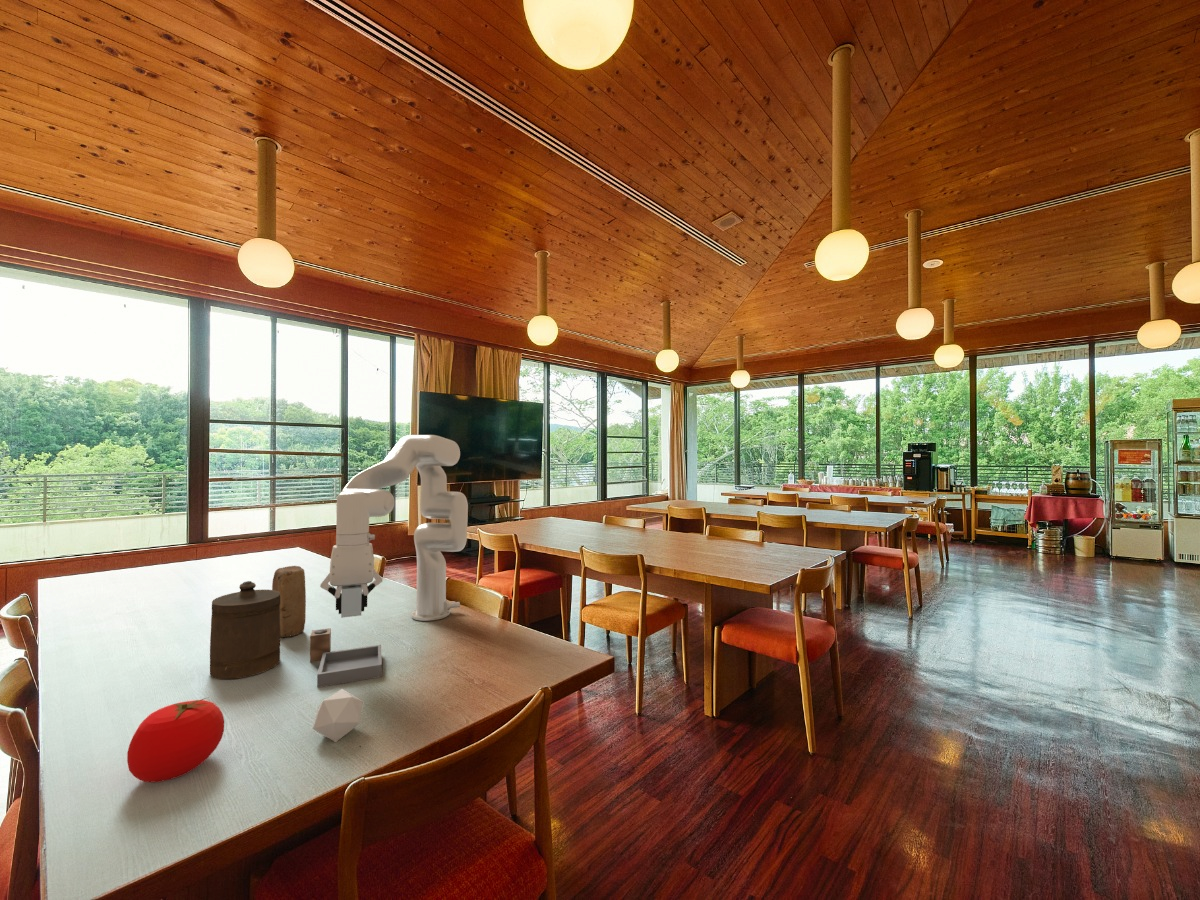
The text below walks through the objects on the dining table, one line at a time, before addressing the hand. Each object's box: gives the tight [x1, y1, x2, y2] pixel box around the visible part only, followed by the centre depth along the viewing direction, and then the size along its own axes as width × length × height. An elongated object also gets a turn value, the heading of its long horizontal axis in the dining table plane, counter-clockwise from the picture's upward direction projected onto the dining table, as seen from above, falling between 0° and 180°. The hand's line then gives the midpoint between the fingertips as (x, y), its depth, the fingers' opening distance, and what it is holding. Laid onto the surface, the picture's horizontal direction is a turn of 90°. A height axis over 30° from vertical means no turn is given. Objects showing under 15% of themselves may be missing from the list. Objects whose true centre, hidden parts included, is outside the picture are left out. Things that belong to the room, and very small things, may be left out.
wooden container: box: [209, 580, 281, 680], centre depth 129 cm, size 15×15×22 cm
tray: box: [316, 644, 383, 688], centre depth 127 cm, size 14×14×3 cm
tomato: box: [126, 696, 225, 783], centre depth 87 cm, size 12×14×12 cm
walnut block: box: [309, 628, 332, 663], centre depth 135 cm, size 4×4×7 cm
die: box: [312, 688, 364, 743], centre depth 98 cm, size 8×9×10 cm
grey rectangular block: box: [340, 584, 363, 619], centre depth 127 cm, size 4×4×7 cm
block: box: [271, 565, 307, 638], centre depth 153 cm, size 11×8×20 cm
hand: (351, 610), depth 127 cm, fingers closed on grey rectangular block, 4 cm apart
